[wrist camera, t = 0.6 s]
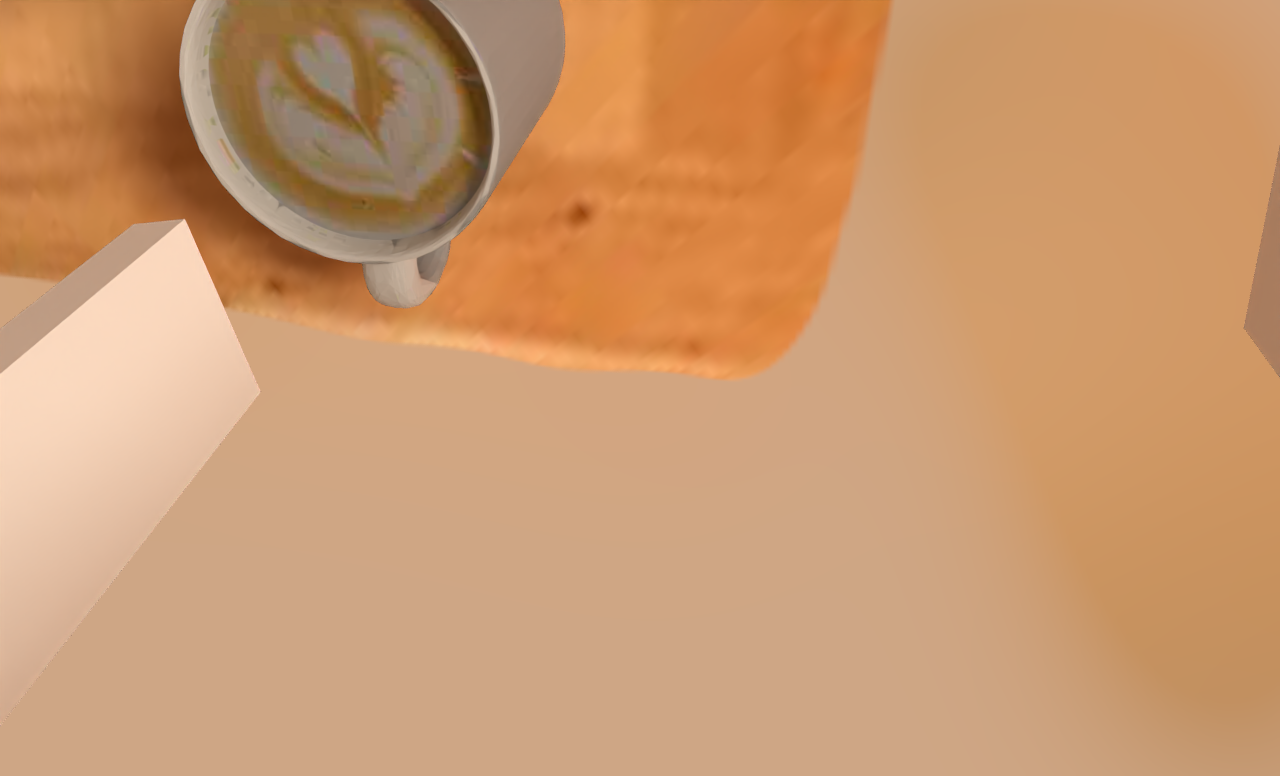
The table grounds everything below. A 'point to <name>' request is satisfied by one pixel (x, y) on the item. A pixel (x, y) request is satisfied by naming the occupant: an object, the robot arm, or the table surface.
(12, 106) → the table surface
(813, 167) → the table surface
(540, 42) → the coffee mug
